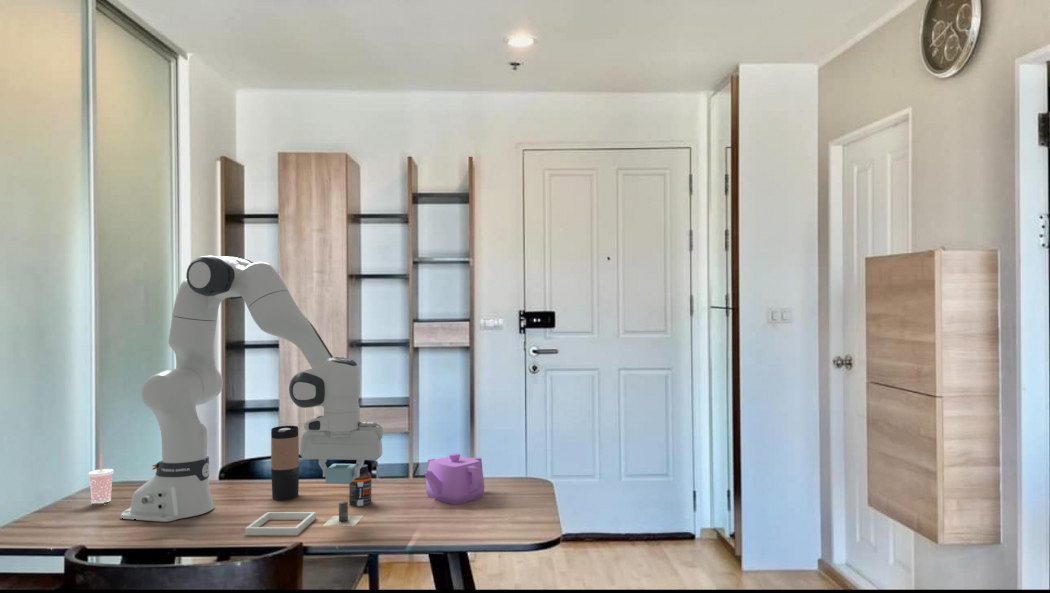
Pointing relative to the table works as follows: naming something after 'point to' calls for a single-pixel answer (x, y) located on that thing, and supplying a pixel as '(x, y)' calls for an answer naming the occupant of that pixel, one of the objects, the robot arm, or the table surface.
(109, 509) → the table surface
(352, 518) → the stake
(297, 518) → the white square frame
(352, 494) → the supplement bottle
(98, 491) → the beverage cup
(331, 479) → the collar
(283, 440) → the travel mug
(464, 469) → the teakettle
